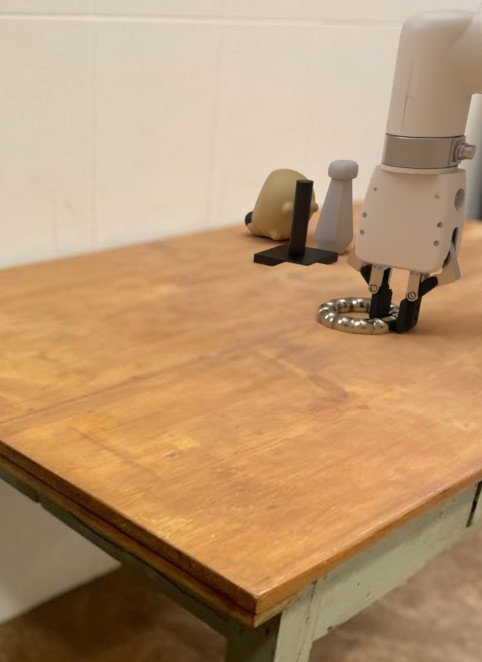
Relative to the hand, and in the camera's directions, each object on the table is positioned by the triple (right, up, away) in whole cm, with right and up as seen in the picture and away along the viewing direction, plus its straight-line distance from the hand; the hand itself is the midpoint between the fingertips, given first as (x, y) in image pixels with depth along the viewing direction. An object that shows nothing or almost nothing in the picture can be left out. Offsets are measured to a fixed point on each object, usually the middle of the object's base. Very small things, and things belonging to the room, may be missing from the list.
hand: (391, 328), depth 92 cm
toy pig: (-4, +24, +41) cm, 48 cm away
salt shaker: (+3, +20, +34) cm, 39 cm away
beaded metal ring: (-3, +2, +2) cm, 4 cm away
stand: (-4, +17, +29) cm, 33 cm away
